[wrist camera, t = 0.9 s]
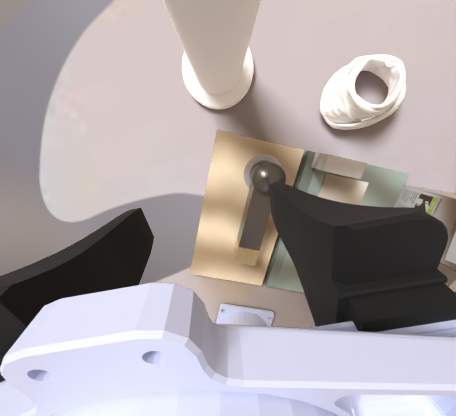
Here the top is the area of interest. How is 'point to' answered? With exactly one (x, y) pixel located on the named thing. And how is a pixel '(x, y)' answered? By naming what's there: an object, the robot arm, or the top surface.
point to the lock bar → (256, 211)
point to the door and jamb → (235, 203)
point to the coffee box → (434, 214)
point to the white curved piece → (352, 103)
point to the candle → (215, 48)
